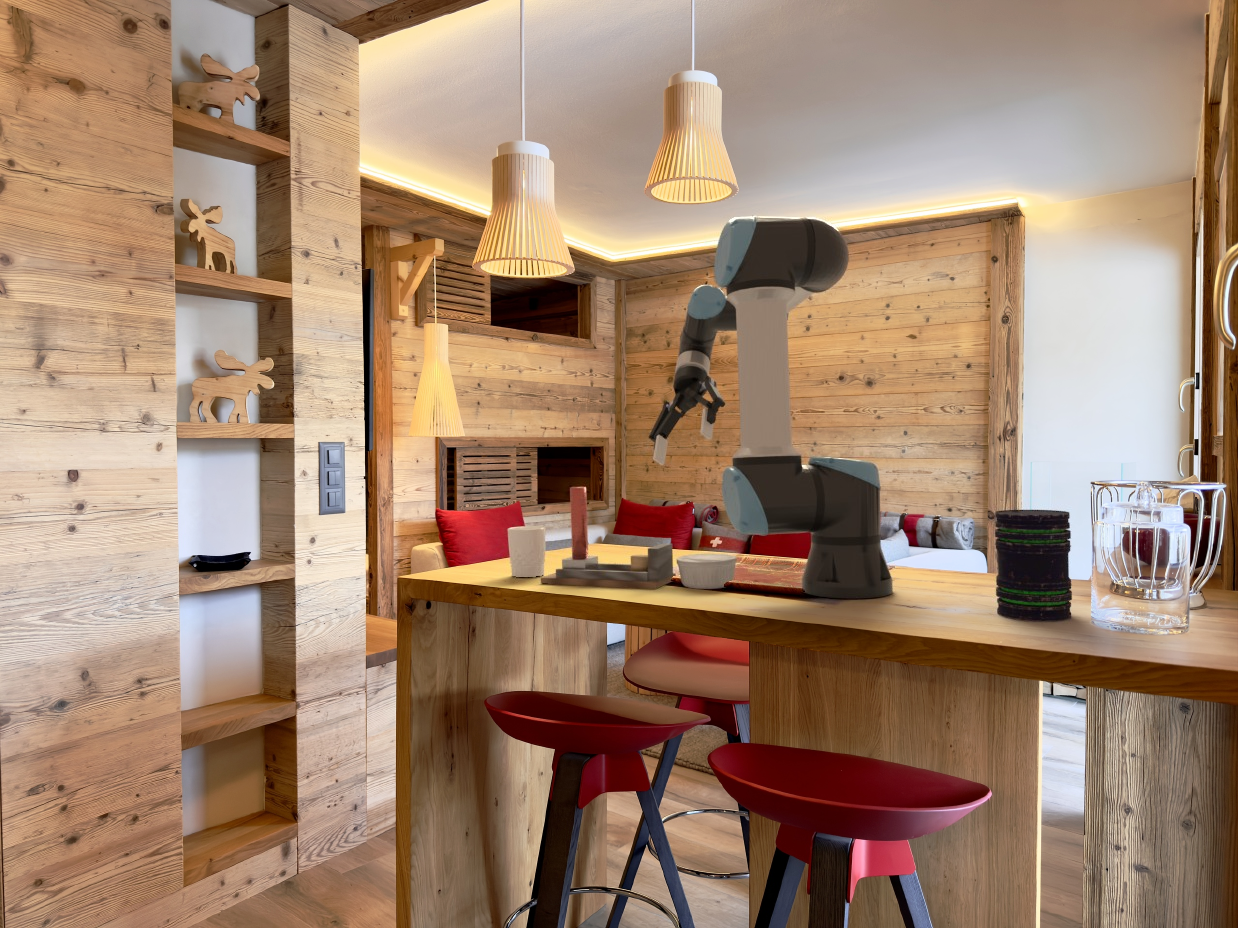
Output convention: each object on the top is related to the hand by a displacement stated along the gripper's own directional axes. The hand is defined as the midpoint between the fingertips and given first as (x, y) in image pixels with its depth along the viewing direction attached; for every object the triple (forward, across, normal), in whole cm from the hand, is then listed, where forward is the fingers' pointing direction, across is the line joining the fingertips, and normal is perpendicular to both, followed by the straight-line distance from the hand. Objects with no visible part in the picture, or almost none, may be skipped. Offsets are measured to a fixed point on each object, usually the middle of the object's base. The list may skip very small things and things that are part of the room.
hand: (681, 449), depth 166 cm
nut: (+27, +8, -1) cm, 28 cm away
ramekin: (+29, -2, -9) cm, 30 cm away
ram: (+26, +19, +5) cm, 33 cm away
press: (+28, +14, +2) cm, 31 cm away
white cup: (+24, +33, +9) cm, 42 cm away
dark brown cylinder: (+42, -53, -26) cm, 72 cm away
